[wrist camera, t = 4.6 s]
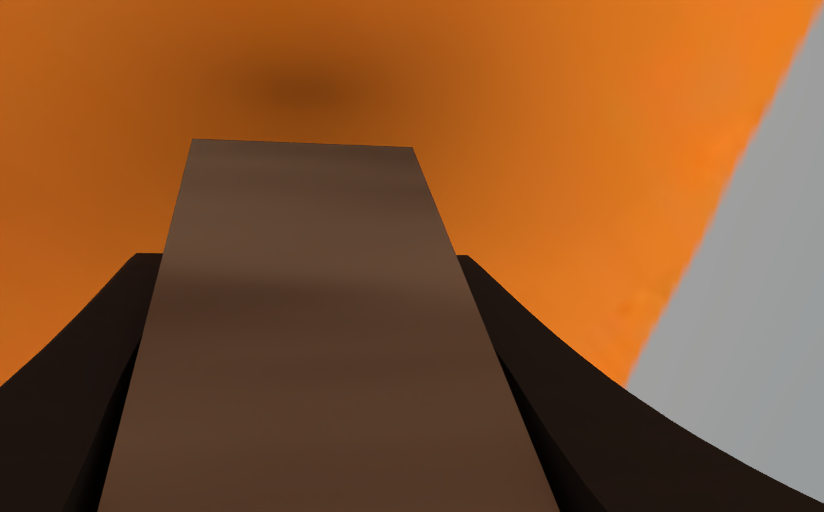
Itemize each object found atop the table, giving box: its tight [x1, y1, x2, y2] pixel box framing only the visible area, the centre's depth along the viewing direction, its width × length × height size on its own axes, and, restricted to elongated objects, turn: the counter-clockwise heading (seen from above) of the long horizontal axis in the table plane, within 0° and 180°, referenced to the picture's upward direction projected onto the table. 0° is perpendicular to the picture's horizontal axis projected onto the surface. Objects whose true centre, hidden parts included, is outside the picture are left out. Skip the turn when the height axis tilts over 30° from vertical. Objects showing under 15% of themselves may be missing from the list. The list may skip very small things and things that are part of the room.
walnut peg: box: [97, 139, 560, 512], centre depth 9 cm, size 4×4×8 cm
